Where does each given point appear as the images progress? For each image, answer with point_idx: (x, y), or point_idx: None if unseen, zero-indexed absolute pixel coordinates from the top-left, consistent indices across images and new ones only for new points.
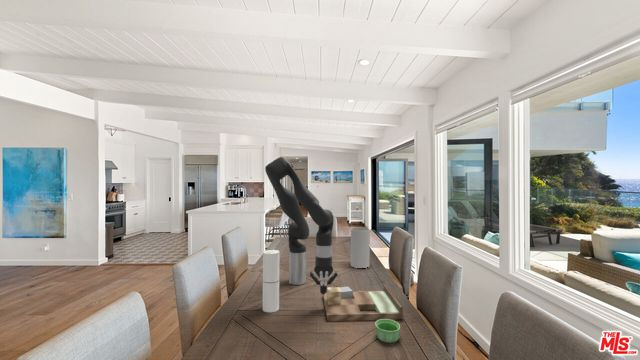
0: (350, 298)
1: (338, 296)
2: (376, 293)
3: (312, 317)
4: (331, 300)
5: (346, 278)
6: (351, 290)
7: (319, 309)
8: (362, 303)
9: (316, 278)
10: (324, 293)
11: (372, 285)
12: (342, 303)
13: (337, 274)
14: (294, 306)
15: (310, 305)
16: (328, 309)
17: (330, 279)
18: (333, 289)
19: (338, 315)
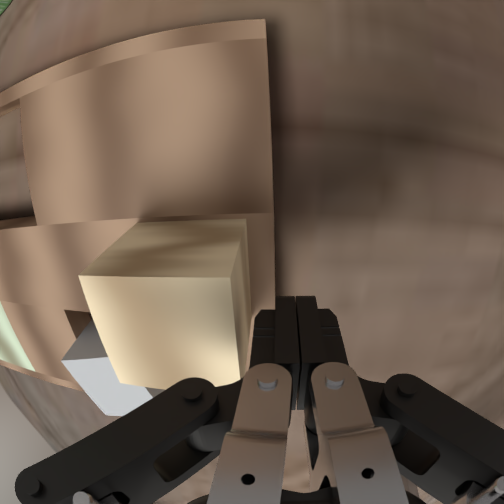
0: (94, 327)
1: (125, 251)
2: (3, 346)
3: (380, 97)
4: (209, 233)
5: None
6: (68, 365)
7: (320, 223)
8: (18, 240)
9: (412, 467)
10: (284, 299)
11: (65, 425)
12: None
13: (16, 481)
14: (468, 272)
15: (376, 286)
16: (249, 117)
17: (179, 459)
18: (168, 344)
19: (165, 33)
